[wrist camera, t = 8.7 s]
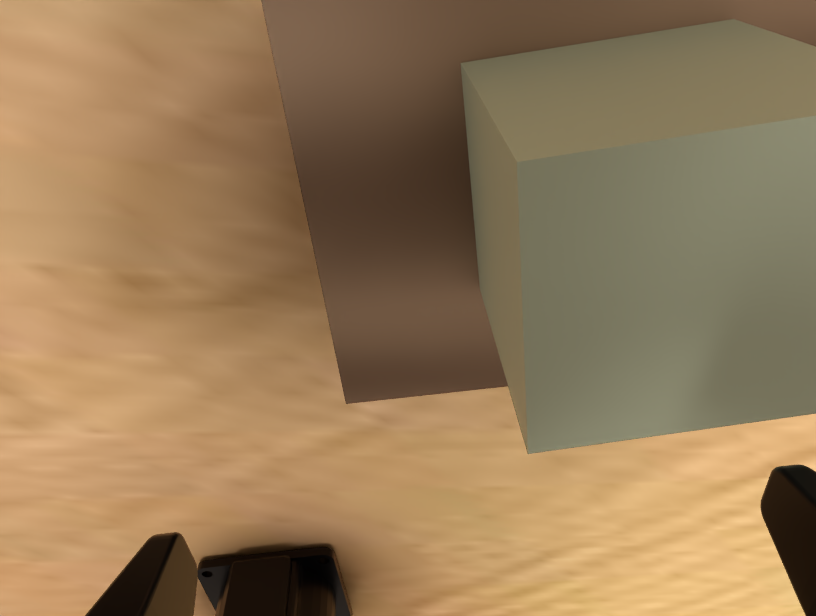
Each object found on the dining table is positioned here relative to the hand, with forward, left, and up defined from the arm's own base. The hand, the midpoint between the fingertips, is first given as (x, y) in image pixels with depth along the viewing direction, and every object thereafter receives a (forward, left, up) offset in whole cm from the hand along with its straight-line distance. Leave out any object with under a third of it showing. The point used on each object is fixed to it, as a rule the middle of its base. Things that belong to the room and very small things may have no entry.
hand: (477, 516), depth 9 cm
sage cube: (+2, -4, -8) cm, 9 cm away
